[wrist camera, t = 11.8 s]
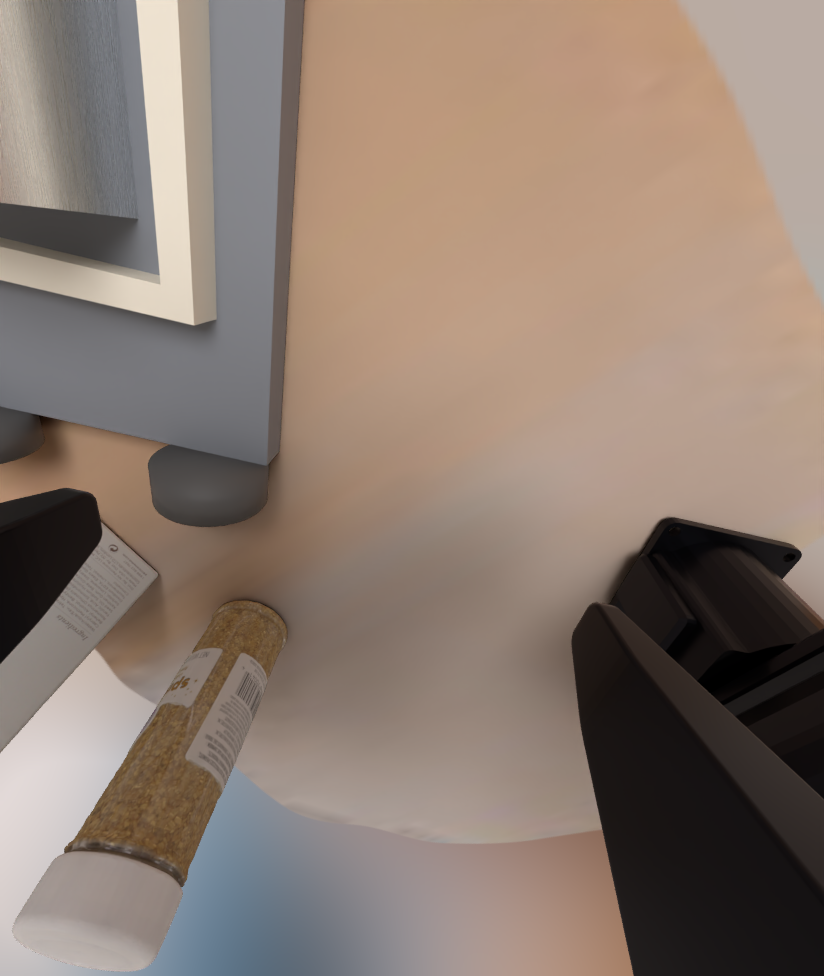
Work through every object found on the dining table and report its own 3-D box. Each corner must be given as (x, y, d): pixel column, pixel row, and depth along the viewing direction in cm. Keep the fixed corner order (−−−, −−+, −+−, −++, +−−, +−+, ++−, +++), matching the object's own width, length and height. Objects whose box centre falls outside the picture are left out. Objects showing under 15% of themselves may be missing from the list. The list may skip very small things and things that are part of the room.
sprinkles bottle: (213, 590, 24) (-19, 920, 12) (292, 605, 24) (139, 947, 12) (217, 643, 26) (27, 964, 14) (289, 656, 26) (159, 986, 14)
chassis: (358, -762, 7) (254, -1938, 3) (281, 482, 20) (241, 537, 16) (-530, -1065, 7) (-1896, -2911, 3) (-26, 413, 19) (-145, 453, 15)
